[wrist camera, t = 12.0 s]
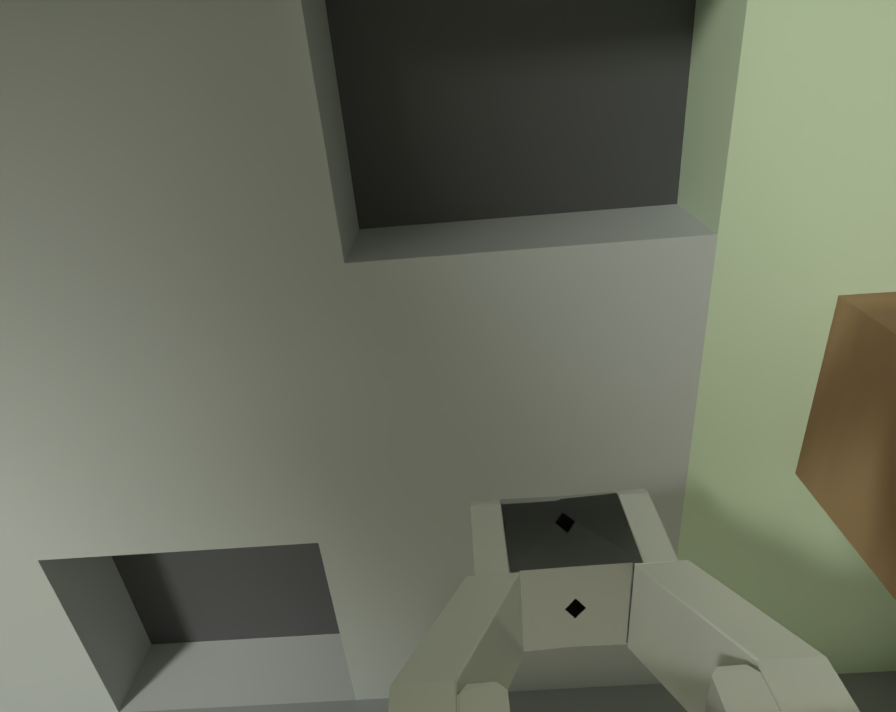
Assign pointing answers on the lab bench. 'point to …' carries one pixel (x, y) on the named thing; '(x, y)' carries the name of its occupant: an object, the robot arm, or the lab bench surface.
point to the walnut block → (857, 430)
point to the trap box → (416, 326)
